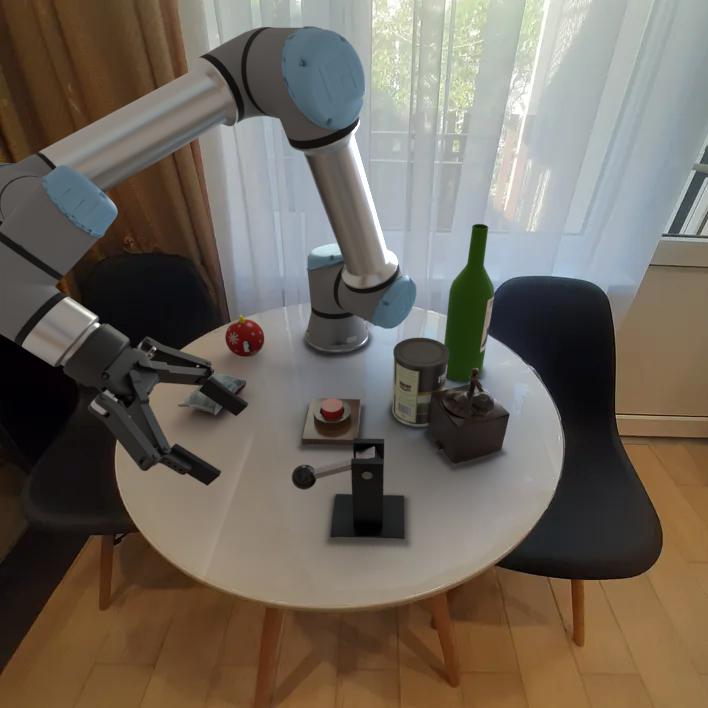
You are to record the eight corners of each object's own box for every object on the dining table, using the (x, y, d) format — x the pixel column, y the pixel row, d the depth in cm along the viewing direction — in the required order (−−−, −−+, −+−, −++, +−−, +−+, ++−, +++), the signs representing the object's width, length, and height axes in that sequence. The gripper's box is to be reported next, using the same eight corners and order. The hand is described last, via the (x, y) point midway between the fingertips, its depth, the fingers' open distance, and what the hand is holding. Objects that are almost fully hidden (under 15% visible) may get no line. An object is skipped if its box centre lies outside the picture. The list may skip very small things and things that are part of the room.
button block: (311, 406, 98) (310, 390, 96) (361, 407, 98) (360, 391, 96) (302, 447, 88) (300, 431, 86) (357, 449, 88) (356, 432, 86)
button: (323, 405, 93) (322, 398, 92) (343, 405, 93) (343, 398, 92) (320, 418, 89) (319, 411, 88) (342, 419, 89) (341, 412, 88)
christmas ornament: (265, 342, 118) (259, 305, 112) (267, 361, 111) (262, 322, 105) (228, 346, 116) (221, 309, 110) (229, 366, 109) (220, 327, 103)
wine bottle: (481, 384, 105) (505, 236, 86) (440, 379, 106) (454, 232, 87) (482, 361, 112) (504, 220, 93) (443, 357, 113) (457, 217, 94)
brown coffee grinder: (422, 432, 92) (429, 352, 82) (472, 418, 96) (485, 340, 85) (464, 490, 81) (477, 406, 70) (519, 472, 84) (540, 389, 74)
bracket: (330, 540, 72) (324, 470, 64) (335, 498, 79) (331, 430, 70) (404, 542, 72) (408, 472, 64) (403, 500, 79) (407, 432, 70)
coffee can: (445, 398, 101) (451, 340, 92) (439, 431, 93) (446, 370, 84) (396, 392, 102) (398, 334, 94) (387, 423, 94) (388, 362, 86)
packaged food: (180, 415, 95) (174, 395, 92) (214, 381, 104) (210, 362, 101) (219, 424, 93) (215, 404, 90) (250, 389, 102) (247, 370, 100)
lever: (296, 497, 70) (285, 481, 68) (300, 478, 73) (289, 462, 71) (381, 475, 67) (372, 457, 65) (382, 457, 70) (373, 439, 68)
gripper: (115, 314, 69) (237, 400, 78) (-1, 431, 49) (181, 528, 58) (142, 280, 66) (266, 373, 75) (30, 390, 46) (218, 500, 55)
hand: (229, 441), depth 66 cm, fingers open, 13 cm apart
